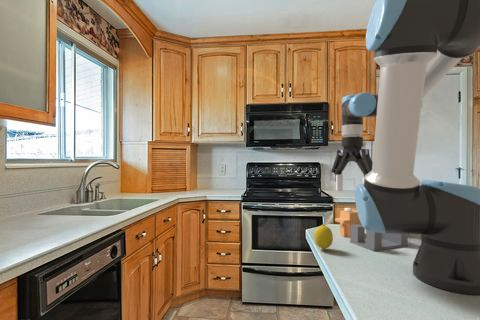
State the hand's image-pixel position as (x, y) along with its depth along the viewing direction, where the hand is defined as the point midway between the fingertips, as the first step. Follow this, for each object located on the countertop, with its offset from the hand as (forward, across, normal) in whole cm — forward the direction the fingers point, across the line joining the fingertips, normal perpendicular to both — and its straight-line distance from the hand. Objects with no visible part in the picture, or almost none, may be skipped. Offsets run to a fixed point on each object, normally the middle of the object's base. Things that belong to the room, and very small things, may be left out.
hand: (351, 192), depth 104 cm
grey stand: (+16, -12, 0) cm, 20 cm away
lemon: (+16, -10, +22) cm, 29 cm away
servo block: (+16, 0, 0) cm, 16 cm away
